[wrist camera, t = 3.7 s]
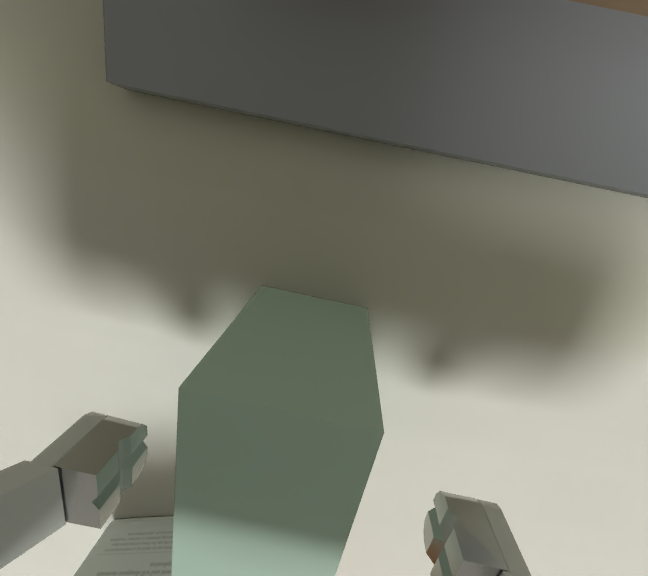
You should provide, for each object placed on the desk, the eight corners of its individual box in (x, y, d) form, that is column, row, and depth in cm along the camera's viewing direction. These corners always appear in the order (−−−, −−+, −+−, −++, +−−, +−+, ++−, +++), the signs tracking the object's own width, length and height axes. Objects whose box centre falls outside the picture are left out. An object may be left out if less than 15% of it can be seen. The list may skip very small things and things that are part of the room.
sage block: (243, 428, 14) (170, 597, 8) (262, 285, 12) (178, 387, 6) (329, 447, 14) (316, 630, 8) (367, 307, 11) (384, 432, 6)
